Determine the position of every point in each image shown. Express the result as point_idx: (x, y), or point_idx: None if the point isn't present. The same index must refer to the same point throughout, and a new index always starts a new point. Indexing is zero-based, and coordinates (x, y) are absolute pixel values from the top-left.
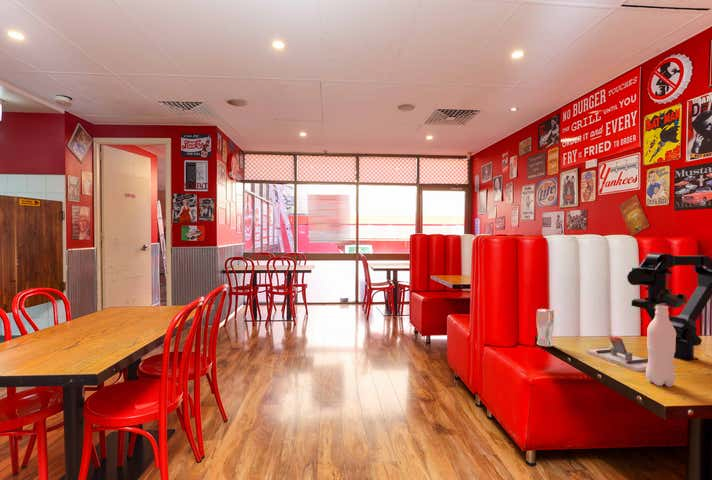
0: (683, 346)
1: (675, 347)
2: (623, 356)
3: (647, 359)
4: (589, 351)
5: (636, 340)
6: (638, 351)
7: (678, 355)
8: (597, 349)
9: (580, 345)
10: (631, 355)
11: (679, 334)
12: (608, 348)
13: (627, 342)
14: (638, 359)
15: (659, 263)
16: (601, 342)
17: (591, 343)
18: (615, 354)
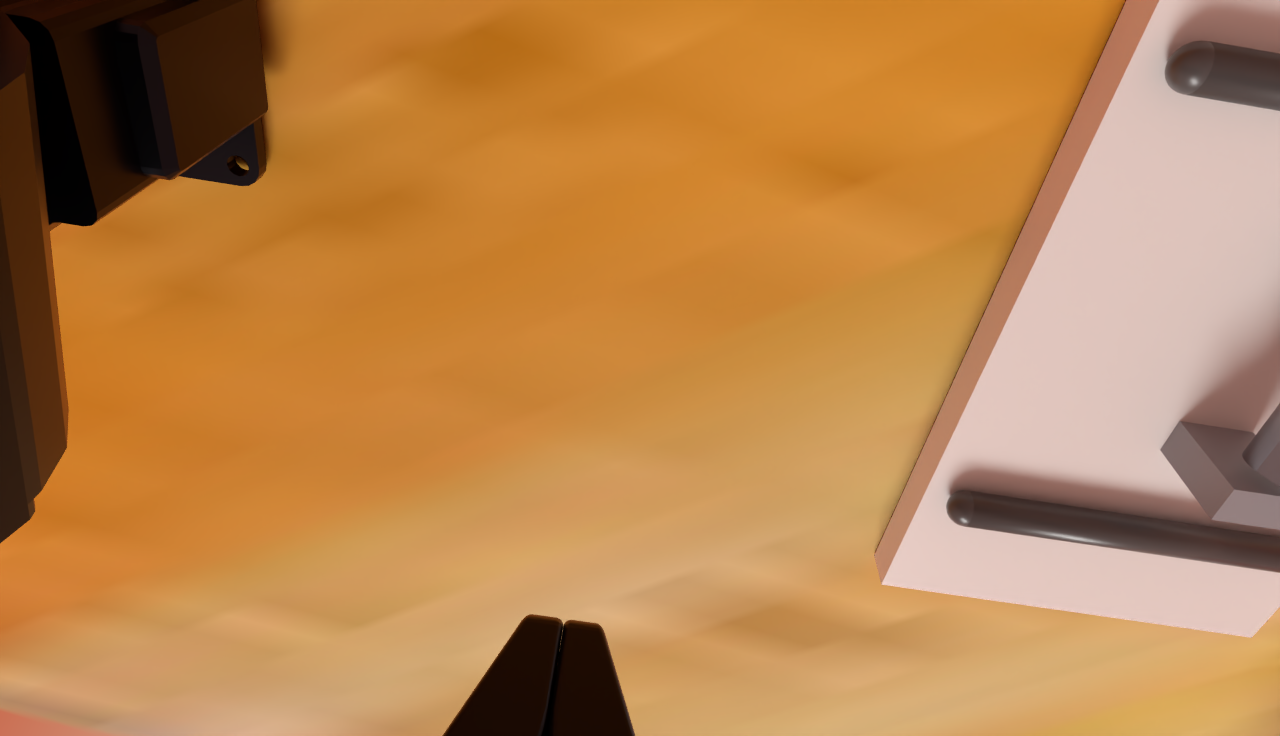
0: (75, 3)
1: (185, 126)
2: (1193, 355)
3: (1254, 68)
4: (1273, 605)
5: (90, 624)
6: (525, 428)
7: (248, 28)
8: (1102, 606)
9: (945, 729)
10: None
11: (12, 124)
12: (922, 581)
13: (284, 625)
14: (1180, 193)
15: None
16: None
17: (746, 723)
18: (1215, 432)
